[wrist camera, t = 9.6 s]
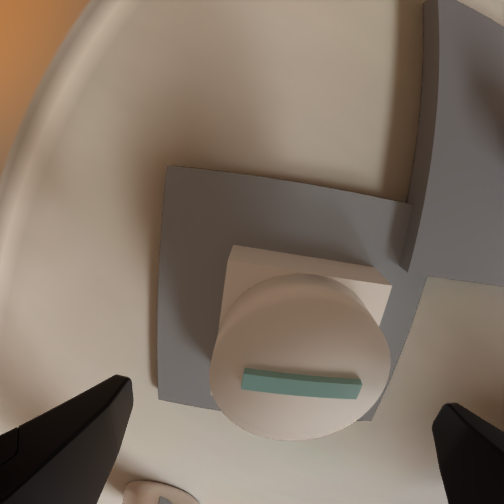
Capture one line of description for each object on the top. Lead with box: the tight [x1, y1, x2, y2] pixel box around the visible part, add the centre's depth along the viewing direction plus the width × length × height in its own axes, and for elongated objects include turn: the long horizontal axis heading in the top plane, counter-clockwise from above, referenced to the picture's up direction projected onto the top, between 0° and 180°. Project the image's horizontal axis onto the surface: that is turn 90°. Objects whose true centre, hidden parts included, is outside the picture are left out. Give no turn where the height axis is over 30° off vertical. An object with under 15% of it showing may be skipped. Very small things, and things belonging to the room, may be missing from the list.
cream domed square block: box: [209, 245, 392, 441], centre depth 11 cm, size 6×6×4 cm
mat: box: [157, 166, 427, 421], centre depth 13 cm, size 11×11×1 cm
